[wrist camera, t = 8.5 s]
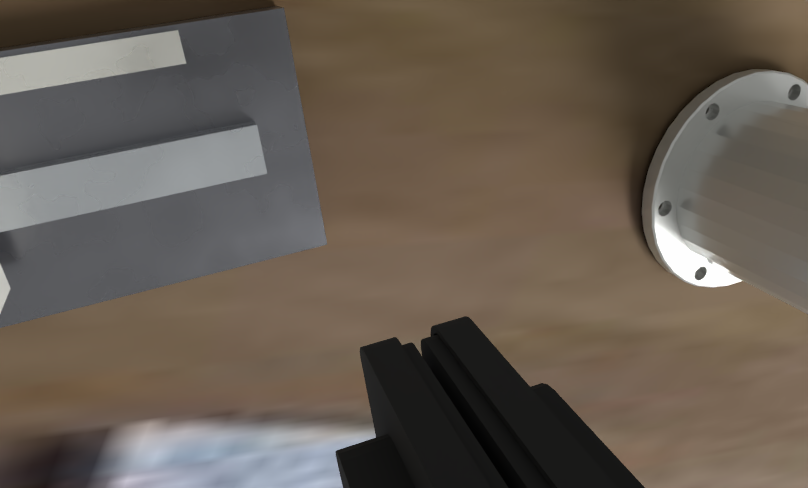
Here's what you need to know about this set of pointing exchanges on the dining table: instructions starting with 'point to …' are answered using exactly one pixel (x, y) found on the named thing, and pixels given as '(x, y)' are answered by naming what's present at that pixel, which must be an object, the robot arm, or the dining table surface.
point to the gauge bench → (150, 159)
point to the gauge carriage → (3, 288)
